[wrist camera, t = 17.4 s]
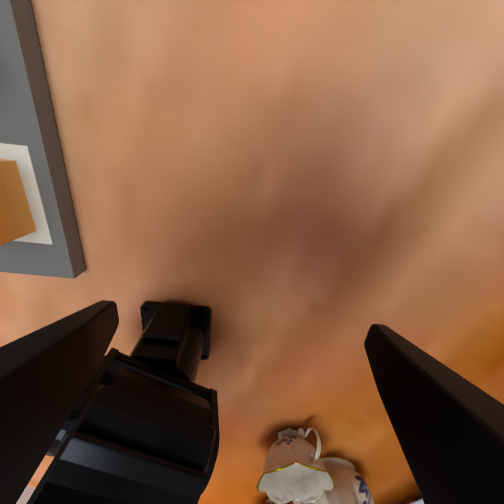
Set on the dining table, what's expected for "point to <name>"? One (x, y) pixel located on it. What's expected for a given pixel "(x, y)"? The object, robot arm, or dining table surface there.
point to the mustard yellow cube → (13, 204)
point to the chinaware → (309, 474)
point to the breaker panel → (34, 152)
